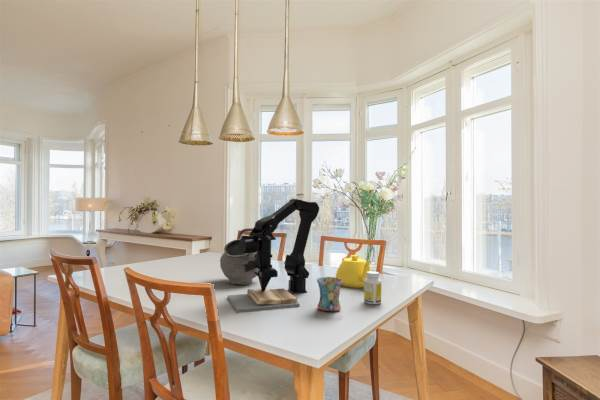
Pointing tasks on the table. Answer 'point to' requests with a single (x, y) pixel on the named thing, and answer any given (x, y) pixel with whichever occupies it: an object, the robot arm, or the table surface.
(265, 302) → the click plank
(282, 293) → the plank
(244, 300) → the underlay
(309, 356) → the table surface
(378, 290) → the pill bottle
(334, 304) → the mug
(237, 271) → the pot
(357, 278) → the teapot
